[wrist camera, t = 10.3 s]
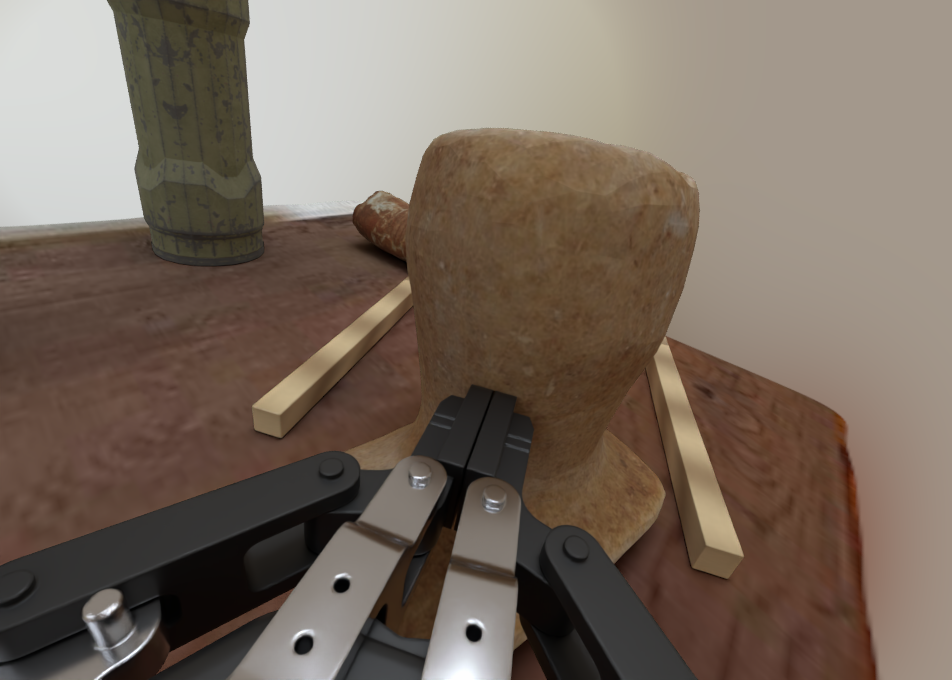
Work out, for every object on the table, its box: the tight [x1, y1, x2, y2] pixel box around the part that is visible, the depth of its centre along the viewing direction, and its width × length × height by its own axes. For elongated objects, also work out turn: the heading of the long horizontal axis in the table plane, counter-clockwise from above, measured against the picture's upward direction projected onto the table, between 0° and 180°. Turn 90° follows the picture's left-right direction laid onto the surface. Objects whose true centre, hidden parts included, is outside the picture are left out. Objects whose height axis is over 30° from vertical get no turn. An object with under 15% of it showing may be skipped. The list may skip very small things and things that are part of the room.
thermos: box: [107, 0, 264, 266], centre depth 31 cm, size 9×12×35 cm
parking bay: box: [252, 276, 744, 579], centre depth 28 cm, size 20×22×2 cm
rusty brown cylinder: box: [353, 191, 409, 262], centre depth 42 cm, size 6×19×6 cm, turn 46°
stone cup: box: [344, 128, 700, 650], centre depth 16 cm, size 15×12×15 cm
